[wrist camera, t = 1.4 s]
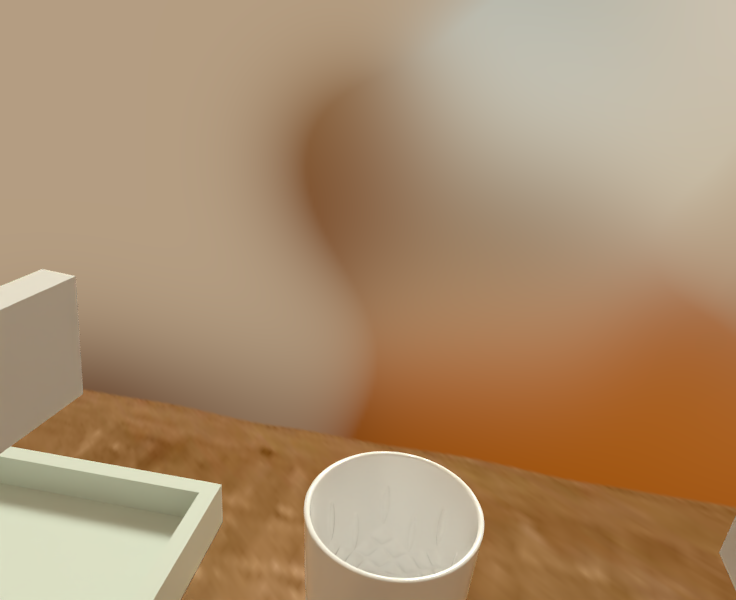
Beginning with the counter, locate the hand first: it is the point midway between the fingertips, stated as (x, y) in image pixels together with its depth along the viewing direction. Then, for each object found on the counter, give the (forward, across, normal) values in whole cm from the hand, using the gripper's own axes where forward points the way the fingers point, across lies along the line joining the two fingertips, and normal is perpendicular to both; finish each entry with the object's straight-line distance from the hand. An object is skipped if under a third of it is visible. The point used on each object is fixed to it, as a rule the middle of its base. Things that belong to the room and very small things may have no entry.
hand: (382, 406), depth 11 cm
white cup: (+12, 0, -22) cm, 25 cm away
